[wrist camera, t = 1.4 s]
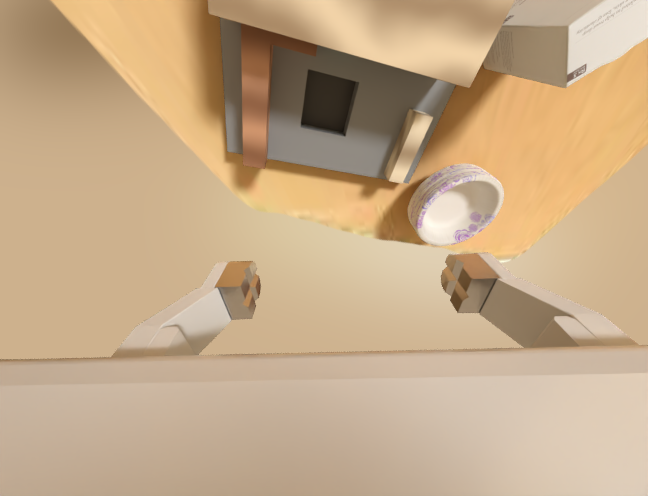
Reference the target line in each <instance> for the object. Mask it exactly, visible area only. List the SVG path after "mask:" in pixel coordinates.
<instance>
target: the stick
mask: <svg viewBox="0 0 648 496" xmlns="http://www.w3.org/2000/svg"><path fill="white" fill-rule="evenodd" d="M432 119H433V117H432V116H430V115H428V114H426V113H425V112H421V111H417V110H413V109H409V111H408V114H407V116H406V119H405V121H404V124H403V126H402V129H401V131H400V134H399V136H398V139H397V141H396V144H395V146H394V149H393V151H392V154H391V156H390V159H389V161H388V164H387V166H386V169H385V172H384V175H385V176H386V178H387V179H388V181H391V182H396V183H402V184H403V182H404V179H405V177H406V175H407V173H408V171H409V169H410V167H411V164H412V162H413V160H414V158H415V156H416V154H417V151H418V149H419V147H420V145H421V143H422V141H423V139H424V136H425V134H426V132H427V130H428V128H429V126H430V124H431V121H432Z"/></svg>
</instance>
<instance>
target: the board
mask: <svg viewBox="0 0 648 496" xmlns="http://www.w3.org/2000/svg"><path fill="white" fill-rule="evenodd" d="M220 31H221V48H222V65H223V82H224V99H225V117H226V134H227V151H228V152H233V153H238V154H243V122H242V58H241V23H239V22H238V23H237V22H234V21H230V20H227V19H224V18H221V17H220ZM455 86H456V84H452V83H448V82H445V81H441V80H437V79H434V78H431V77H428V76H425V75H421V74H418V73H414V72H411V71H407V70H404V69H400V68H397V67H393V66H390V65H386V64H383V63H379V62H376V61H372V60H369V59H365V58H362V57H358V56H355V55H351V54H348V53H344V52H341V51H337V50H334V49H330V48H327V47H323V46H320V45H317V52H316V57H315V56H311V55H308V54H304V53H300V52H297V51H293V50H289V49H286V48H282V47H279V46H275V45H273V59H272V78H271V97H270V116H269V135H268V155H267V159H272V160H278V161H284V162H289V163H295V164H301V165H306V166H312V167H318V168H323V169H329V170H335V171H340V172H346V173H352V174H357V175H363V176H369V177H374V178H380V179H386V180H388V179H387V178H386V176H385V175H384V172H385V169H386V166H387V164H388V161H389V159H390V156H391V154H392V151H393V149H394V146H395V144H396V141H397V139H398V136H399V134H400V131H401V129H402V126H403V124H404V121H405V119H406V116H407V114H408V111H409V109H413V110H417V111H421V112H425V113H426V114H428V115H430V116H432V117H433V119H432V121H431V124H430V126H429V128H428V130H427V132H426V134H425V136H424V139H423V141H422V143H421V145H420V147H419V149H418V151H417V154H416V156H415V158H414V160H413V162H412V164H411V167H410V169H409V171H408V173H407V175H406V177H405V179H404V182H403V183H409V181H410V179H411V177H412V175H413V173H414V171H415V169H416V167H417V165H418V163H419V161H420V158H421V156H422V154H423V152H424V150H425V148H426V146H427V144H428V142H429V140H430V138H431V136H432V134H433V132H434V129H435V127H436V125H437V123H438V121H439V119H440V117H441V115H442V113H443V111H444V109H445V107H446V105H447V103H448V100H449V98H450V96H451V94H452V92H453V90H454V88H455Z"/></svg>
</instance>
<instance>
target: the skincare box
mask: <svg viewBox="0 0 648 496" xmlns="http://www.w3.org/2000/svg"><path fill="white" fill-rule="evenodd" d="M647 38H648V0H515V1H514V3H513V5H512V7H511V9H510V11H509V13H508V15H507V16H506V18H505V20H504V22H503V24H502V26H501V28H500V30H499V32H498V34H497V36H496V38H495V40H494V42H493V44H492V45H491V47H490V49H489V51H488V53H487V55H486V57H485V59H484V61H483V66H484V69H487V70H491V71H495V72H499V73H504V74H508V75H512V76H516V77H520V78H524V79H529V80H533V81H537V82H541V83H545V84H549V85H554V86H558V87H562V88H567V87H568V86H570V85H571V84H573V83H575V82H576V81H578V80H579V79H581V78H583V77H584V76H586V75H587V74H589V73H591V72H592V71H594V70H596V69H597V68H599V67H601V66H603V65H605V64H608V63H610V62H612V61H614V60H616V59H618V58H619V57H621V56H622V55H624V54H625V53H626V52H627V51H629V50H630V49H631V48H632V47H634V46H635V45H637V44H639V43H640V42H642V41H644V40H645V39H647Z"/></svg>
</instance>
